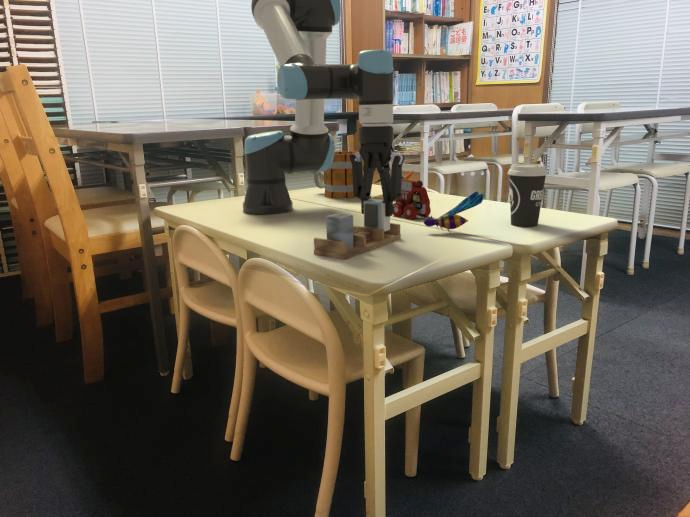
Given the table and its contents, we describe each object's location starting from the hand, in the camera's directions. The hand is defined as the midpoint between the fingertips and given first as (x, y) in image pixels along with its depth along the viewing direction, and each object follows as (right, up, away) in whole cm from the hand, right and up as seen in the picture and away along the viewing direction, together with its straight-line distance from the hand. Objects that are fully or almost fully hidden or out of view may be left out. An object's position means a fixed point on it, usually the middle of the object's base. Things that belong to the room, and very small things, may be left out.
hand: (377, 229), depth 126 cm
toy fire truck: (+11, +5, +27) cm, 29 cm away
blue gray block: (0, 0, 0) cm, 0 cm away
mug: (-10, +15, +66) cm, 69 cm away
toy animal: (+8, +13, +58) cm, 60 cm away
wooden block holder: (-4, -4, -5) cm, 7 cm away
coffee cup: (+38, +2, +13) cm, 40 cm away
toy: (+19, -1, +5) cm, 19 cm away
